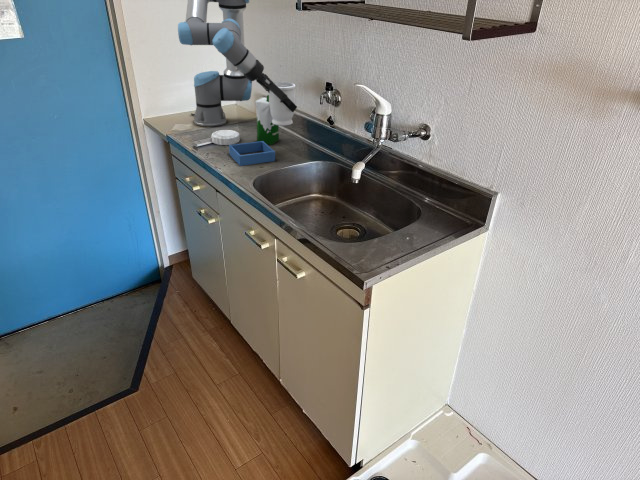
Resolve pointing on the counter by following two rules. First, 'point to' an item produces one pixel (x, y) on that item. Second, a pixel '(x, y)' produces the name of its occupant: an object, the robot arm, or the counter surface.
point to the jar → (282, 104)
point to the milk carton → (265, 122)
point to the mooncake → (225, 137)
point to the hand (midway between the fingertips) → (289, 105)
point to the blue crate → (254, 158)
